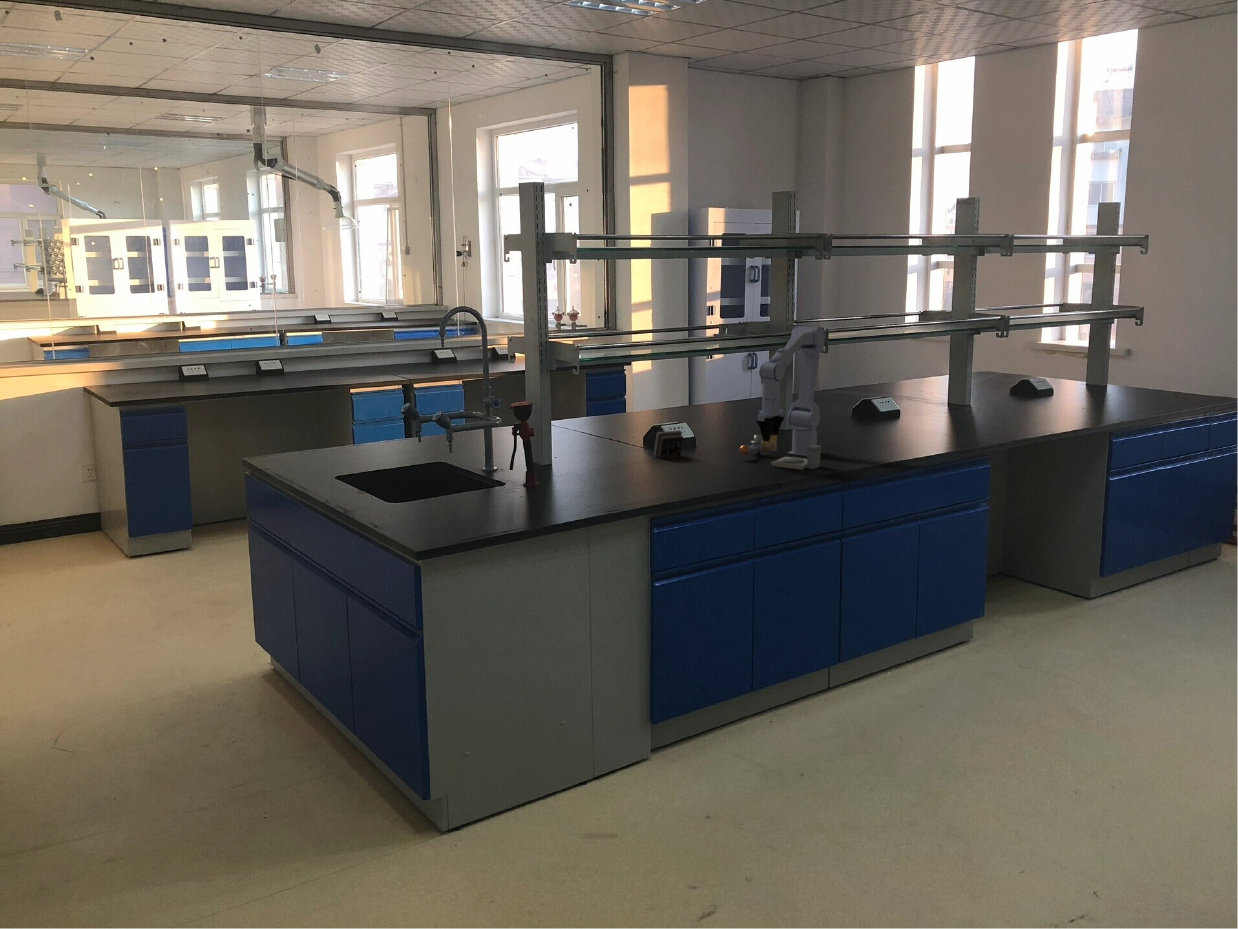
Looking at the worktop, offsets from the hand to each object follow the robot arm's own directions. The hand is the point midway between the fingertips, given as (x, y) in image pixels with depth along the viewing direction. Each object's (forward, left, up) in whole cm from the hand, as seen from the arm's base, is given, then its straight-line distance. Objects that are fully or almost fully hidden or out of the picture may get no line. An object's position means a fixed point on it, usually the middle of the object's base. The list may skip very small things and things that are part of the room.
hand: (769, 439), depth 336 cm
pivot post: (-11, -10, -8) cm, 17 cm away
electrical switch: (+8, -34, -9) cm, 36 cm away
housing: (0, 0, -3) cm, 3 cm away
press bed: (-3, +9, -8) cm, 12 cm away
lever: (-4, -10, -7) cm, 12 cm away
